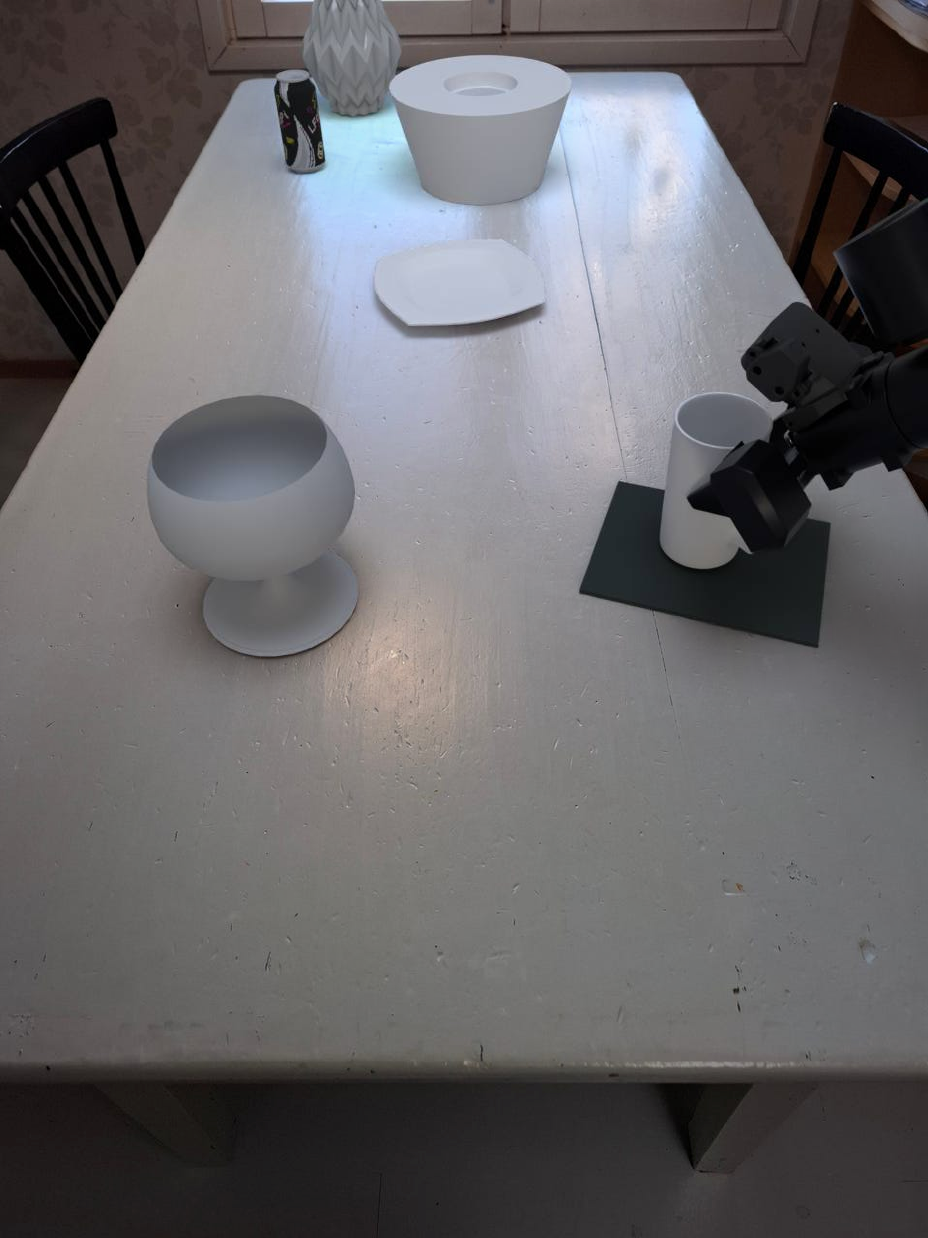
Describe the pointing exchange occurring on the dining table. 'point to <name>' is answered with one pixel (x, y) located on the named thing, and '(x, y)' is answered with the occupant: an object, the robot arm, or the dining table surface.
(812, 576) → the mat
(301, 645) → the chalice
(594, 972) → the dining table surface
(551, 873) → the dining table surface
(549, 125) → the white tapered cylinder
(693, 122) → the dining table surface
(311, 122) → the beverage can
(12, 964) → the dining table surface
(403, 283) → the plate
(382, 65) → the vase
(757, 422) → the mug
